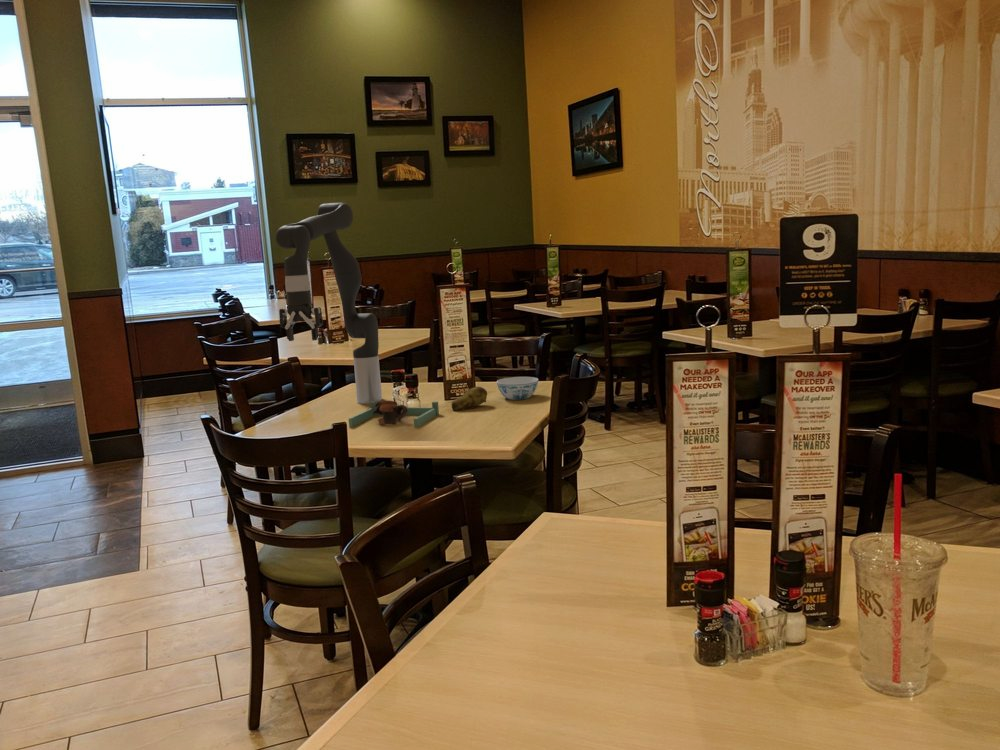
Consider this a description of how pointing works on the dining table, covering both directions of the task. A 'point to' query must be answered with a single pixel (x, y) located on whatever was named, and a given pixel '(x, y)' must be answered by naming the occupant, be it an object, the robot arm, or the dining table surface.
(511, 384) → the chinaware
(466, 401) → the olive green tapered lump
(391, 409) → the pottery mug
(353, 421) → the teal bars
